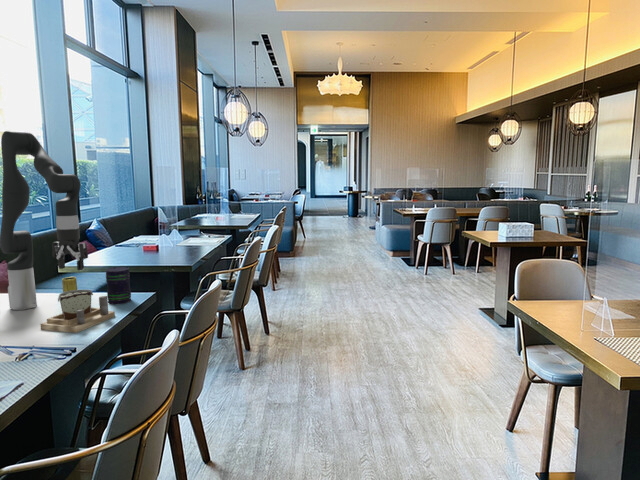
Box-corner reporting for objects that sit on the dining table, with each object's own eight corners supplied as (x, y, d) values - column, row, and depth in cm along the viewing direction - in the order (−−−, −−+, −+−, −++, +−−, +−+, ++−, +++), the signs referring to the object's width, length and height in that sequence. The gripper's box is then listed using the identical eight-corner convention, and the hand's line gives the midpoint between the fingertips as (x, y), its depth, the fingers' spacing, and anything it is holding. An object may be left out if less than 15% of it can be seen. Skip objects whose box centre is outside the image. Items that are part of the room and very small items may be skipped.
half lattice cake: (88, 311, 182) (86, 287, 180) (94, 314, 178) (92, 290, 176) (54, 319, 173) (52, 293, 171) (60, 322, 169) (58, 296, 167)
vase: (83, 309, 192) (80, 276, 189) (74, 314, 185) (71, 280, 183) (69, 309, 192) (67, 276, 190) (60, 313, 186) (57, 279, 184)
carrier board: (40, 329, 167) (38, 305, 166) (82, 313, 186) (80, 292, 185) (76, 332, 163) (74, 308, 162) (114, 316, 182) (113, 294, 181)
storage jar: (135, 301, 204) (133, 268, 202) (113, 305, 197) (111, 272, 195) (125, 297, 211) (123, 265, 208) (103, 301, 203) (101, 269, 201)
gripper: (44, 227, 169) (48, 270, 171) (75, 229, 165) (79, 272, 168) (60, 225, 176) (63, 266, 179) (91, 226, 172) (93, 268, 175)
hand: (71, 269), depth 173 cm, fingers open, 8 cm apart
